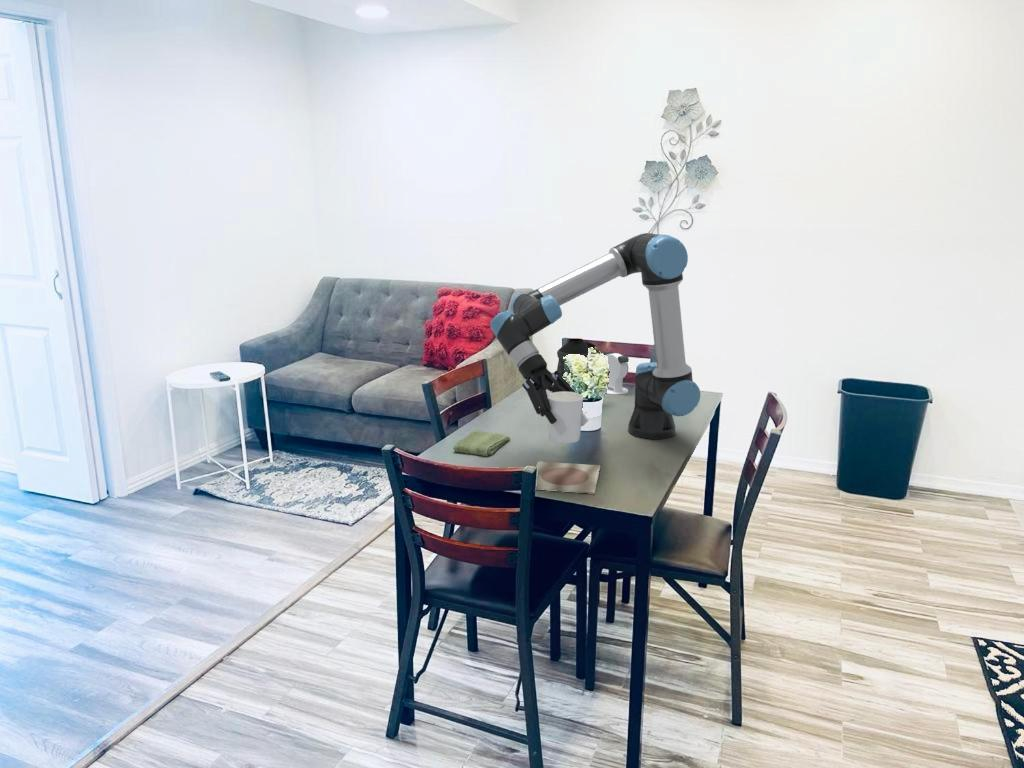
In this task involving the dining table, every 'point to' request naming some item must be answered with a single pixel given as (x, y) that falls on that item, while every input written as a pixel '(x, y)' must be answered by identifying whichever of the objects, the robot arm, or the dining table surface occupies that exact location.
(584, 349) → the black tall bulky piece
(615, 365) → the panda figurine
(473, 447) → the washcloth
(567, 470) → the card
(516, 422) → the dining table surface
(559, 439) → the white tapered cylinder
